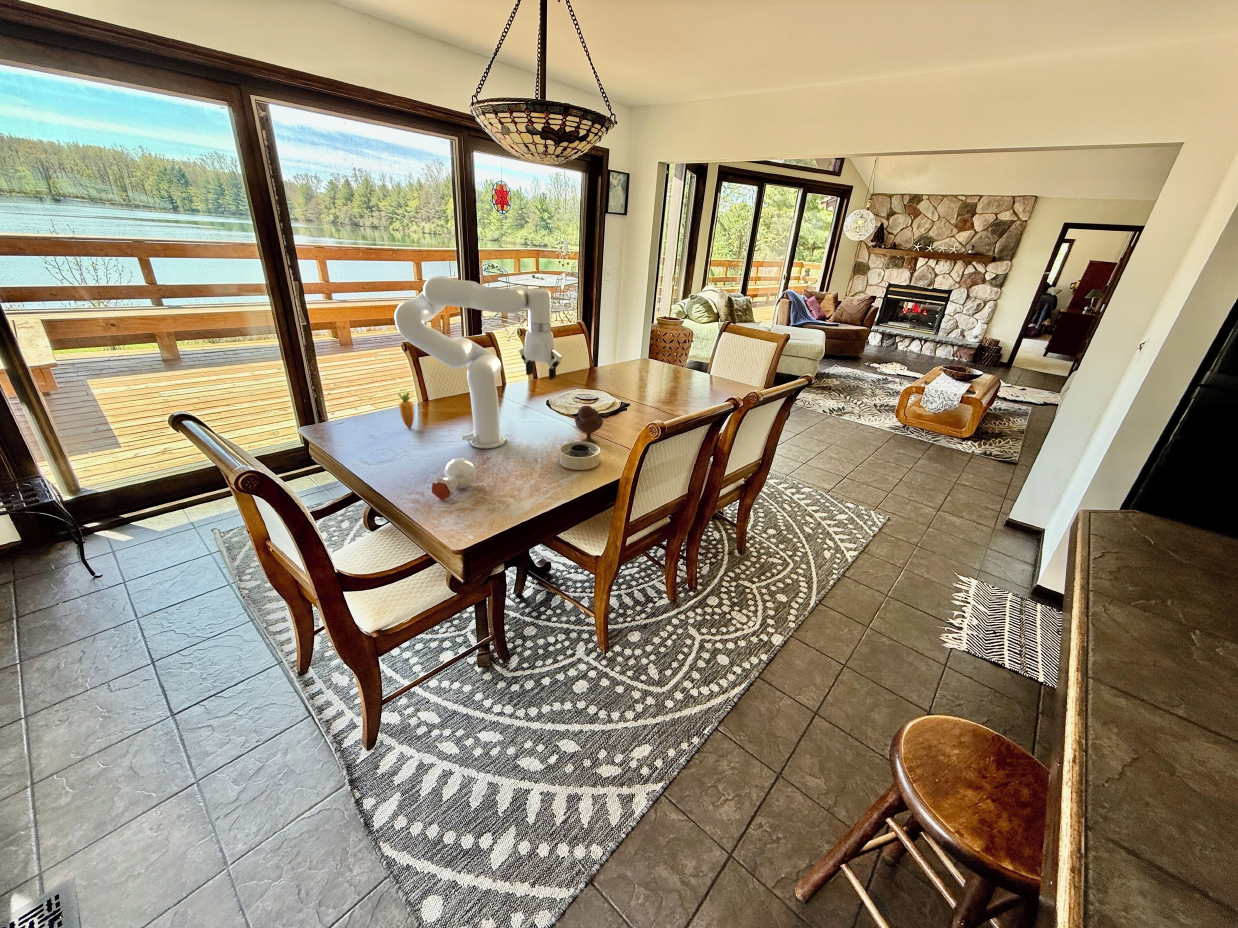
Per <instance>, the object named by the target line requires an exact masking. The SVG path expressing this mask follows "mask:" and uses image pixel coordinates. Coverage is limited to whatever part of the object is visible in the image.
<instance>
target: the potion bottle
mask: <svg viewBox="0 0 1238 928" xmlns="http://www.w3.org/2000/svg"><path fill="white" fill-rule="evenodd" d="M476 477H477V471H476V467H475V465H474V464H473V462H471V461H470V460H469V459H466V458H464V457H457V458H454V459H452V460H450V461H448V462H447V463H446V465H445V467H444V470H443V478H441V477H435V482H432V483H431V484H432V485H431V494H433V495H434V496H435V497H437V498H438V499H439V500H440V501H444V500H446V499H449V498H450V497H451V496H453V495H454V494H456V489H459V490H460V489H465V488H467V487H469V486H470V485H472V484H474V481H475V479H476Z"/></svg>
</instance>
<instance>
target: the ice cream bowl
mask: <svg viewBox="0 0 1238 928" xmlns="http://www.w3.org/2000/svg"><path fill="white" fill-rule="evenodd" d="M574 422H575V426H576V428H577V429H578V430H579V431H581V432H582V433H585V435H586V437H585V438H583V439H581V442H589V443H593V444H595V445H596V440H595V439H594V438H592V434H593V433H595V432H597V431H599V430H600V429H601V428H602V426H603V424H604V418H603V417H601V416H600V412H599V411H598V410H597V409H596V408H594V407H592V406H591V405H586V404H585V405H582V406H581V407H579V409H578V411H577V416H575V417H574Z"/></svg>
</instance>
